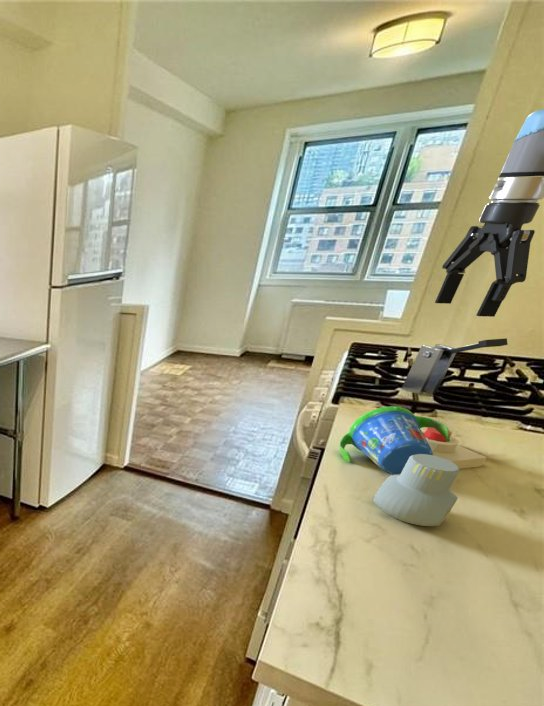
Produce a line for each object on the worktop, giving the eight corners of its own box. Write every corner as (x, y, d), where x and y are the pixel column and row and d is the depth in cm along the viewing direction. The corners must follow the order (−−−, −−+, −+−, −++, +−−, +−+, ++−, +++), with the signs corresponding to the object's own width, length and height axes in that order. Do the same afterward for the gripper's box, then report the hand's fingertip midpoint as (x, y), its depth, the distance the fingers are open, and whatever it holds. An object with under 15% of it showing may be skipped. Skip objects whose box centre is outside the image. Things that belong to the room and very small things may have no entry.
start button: (452, 442, 94) (457, 434, 93) (436, 443, 93) (441, 435, 92) (433, 433, 97) (437, 426, 96) (418, 435, 96) (422, 427, 95)
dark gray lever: (508, 346, 106) (506, 336, 106) (487, 348, 106) (485, 337, 106) (439, 359, 119) (438, 350, 119) (420, 361, 119) (419, 351, 119)
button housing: (480, 467, 92) (492, 449, 90) (436, 472, 91) (446, 453, 89) (417, 439, 103) (426, 422, 101) (376, 443, 101) (385, 425, 99)
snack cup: (347, 455, 89) (326, 423, 97) (360, 493, 94) (339, 459, 101) (460, 423, 81) (428, 391, 89) (468, 466, 85) (437, 433, 93)
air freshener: (428, 540, 74) (461, 485, 69) (363, 514, 80) (389, 462, 75) (448, 514, 79) (480, 462, 74) (386, 492, 85) (412, 442, 80)
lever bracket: (456, 403, 118) (483, 353, 112) (424, 406, 117) (450, 355, 111) (407, 386, 129) (430, 339, 123) (378, 388, 128) (399, 341, 121)
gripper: (450, 200, 108) (409, 298, 118) (542, 203, 87) (483, 321, 97) (490, 200, 107) (445, 298, 117) (594, 202, 85) (529, 323, 95)
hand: (462, 309), depth 107 cm, fingers open, 13 cm apart
